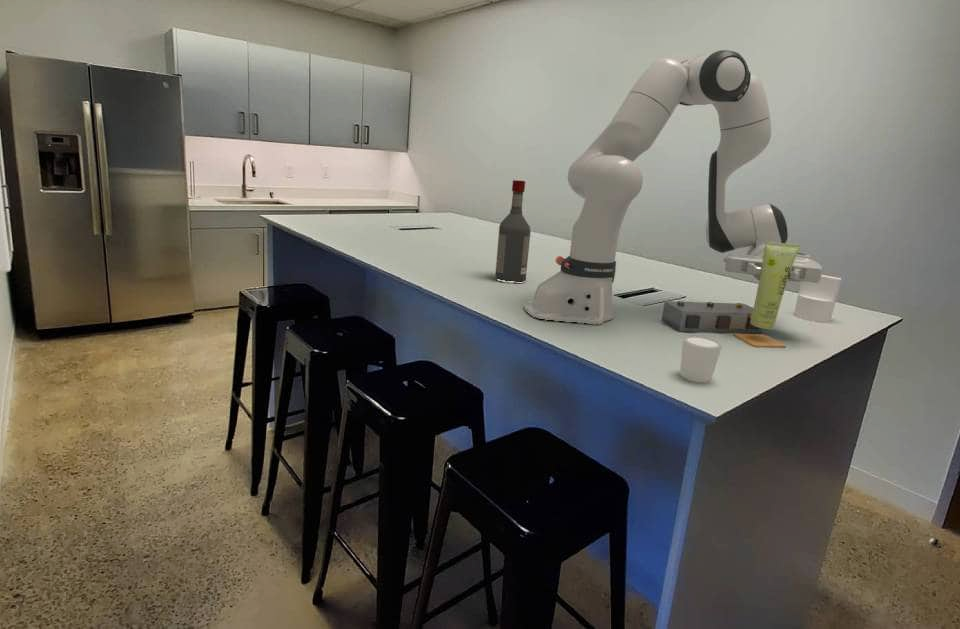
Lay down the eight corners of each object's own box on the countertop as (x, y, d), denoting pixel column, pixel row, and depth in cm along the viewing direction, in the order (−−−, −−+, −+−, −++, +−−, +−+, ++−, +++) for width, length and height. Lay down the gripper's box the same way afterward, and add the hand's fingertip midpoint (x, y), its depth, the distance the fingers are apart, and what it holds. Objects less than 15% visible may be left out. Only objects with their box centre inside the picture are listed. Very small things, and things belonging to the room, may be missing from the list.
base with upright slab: (789, 316, 155) (799, 274, 152) (798, 311, 162) (808, 270, 158) (826, 324, 149) (837, 281, 146) (833, 319, 156) (844, 277, 152)
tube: (765, 331, 126) (788, 245, 120) (744, 324, 130) (765, 240, 124) (777, 327, 129) (800, 244, 123) (756, 321, 133) (777, 240, 127)
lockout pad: (754, 347, 126) (754, 345, 126) (733, 335, 134) (733, 333, 133) (785, 347, 127) (786, 345, 127) (763, 335, 135) (763, 334, 135)
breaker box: (680, 332, 133) (684, 309, 131) (661, 320, 142) (665, 298, 140) (763, 334, 136) (768, 312, 135) (740, 322, 145) (744, 301, 144)
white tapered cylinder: (710, 387, 101) (718, 351, 99) (672, 377, 105) (678, 341, 103) (717, 376, 107) (725, 341, 105) (681, 366, 110) (687, 333, 108)
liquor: (495, 282, 169) (504, 180, 160) (495, 275, 177) (503, 178, 169) (525, 284, 169) (536, 182, 160) (523, 277, 178) (533, 181, 169)
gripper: (725, 245, 140) (728, 253, 128) (817, 256, 133) (829, 265, 121) (720, 270, 142) (722, 280, 129) (811, 281, 135) (822, 294, 123)
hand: (775, 273), depth 125 cm, fingers closed on tube, 6 cm apart
